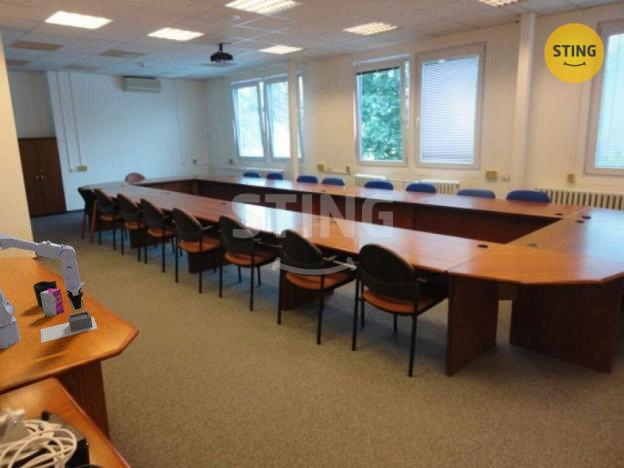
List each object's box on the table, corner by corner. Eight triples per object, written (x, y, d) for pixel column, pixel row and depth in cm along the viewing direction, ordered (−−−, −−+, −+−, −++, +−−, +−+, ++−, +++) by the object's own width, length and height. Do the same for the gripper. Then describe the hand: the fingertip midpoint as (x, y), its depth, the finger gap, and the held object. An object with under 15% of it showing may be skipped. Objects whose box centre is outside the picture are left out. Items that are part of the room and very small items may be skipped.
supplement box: (55, 317, 196) (50, 293, 193) (44, 316, 197) (39, 293, 194) (65, 311, 201) (60, 288, 198) (54, 311, 202) (49, 288, 200)
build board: (41, 344, 171) (41, 342, 171) (41, 331, 182) (40, 329, 182) (97, 330, 181) (97, 328, 181) (93, 318, 193) (93, 316, 192)
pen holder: (55, 297, 219) (51, 278, 217) (63, 301, 213) (59, 282, 211) (34, 304, 212) (30, 284, 210) (42, 308, 206) (37, 288, 204)
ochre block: (71, 313, 179) (69, 302, 177) (70, 309, 183) (68, 298, 182) (85, 310, 181) (82, 299, 180) (83, 306, 185) (81, 295, 184)
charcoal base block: (71, 332, 179) (69, 322, 177) (69, 324, 185) (67, 315, 184) (92, 326, 183) (90, 317, 182) (90, 319, 189) (88, 310, 188)
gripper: (84, 278, 174) (90, 309, 178) (80, 268, 186) (86, 298, 190) (64, 282, 171) (70, 314, 174) (61, 272, 183) (67, 302, 186)
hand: (77, 306), depth 182 cm, fingers closed on ochre block, 5 cm apart
